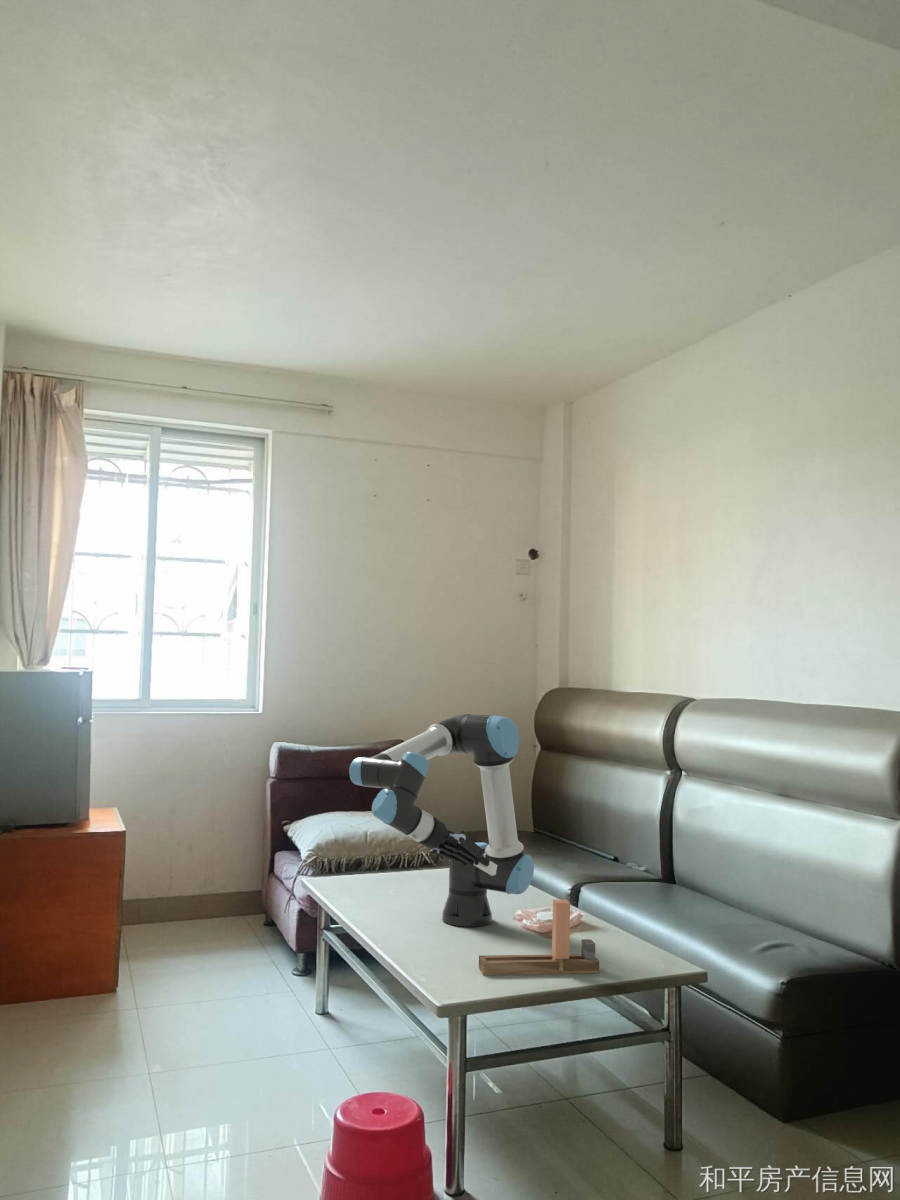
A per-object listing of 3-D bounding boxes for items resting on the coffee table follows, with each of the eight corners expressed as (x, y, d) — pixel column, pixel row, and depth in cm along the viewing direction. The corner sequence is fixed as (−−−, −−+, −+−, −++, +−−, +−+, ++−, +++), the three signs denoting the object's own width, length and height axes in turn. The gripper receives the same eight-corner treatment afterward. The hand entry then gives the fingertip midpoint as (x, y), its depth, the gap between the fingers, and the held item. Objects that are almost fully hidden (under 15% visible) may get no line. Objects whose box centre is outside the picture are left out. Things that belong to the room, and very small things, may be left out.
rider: (550, 964, 238) (552, 899, 239) (565, 964, 239) (567, 899, 240) (554, 968, 234) (555, 902, 236) (569, 968, 235) (571, 902, 236)
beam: (478, 967, 236) (479, 939, 237) (591, 965, 241) (592, 938, 241) (483, 975, 230) (484, 946, 231) (599, 973, 235) (599, 944, 235)
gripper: (407, 849, 238) (476, 889, 246) (438, 835, 230) (508, 877, 238) (414, 824, 243) (481, 864, 251) (444, 809, 235) (513, 851, 243)
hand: (494, 870), depth 244 cm, fingers closed
